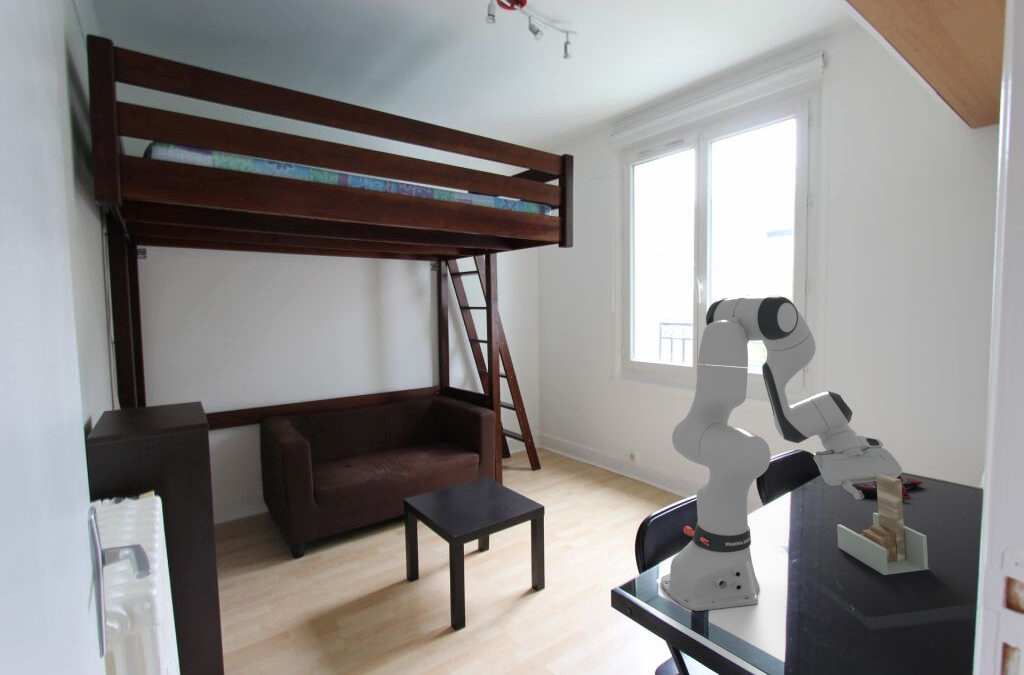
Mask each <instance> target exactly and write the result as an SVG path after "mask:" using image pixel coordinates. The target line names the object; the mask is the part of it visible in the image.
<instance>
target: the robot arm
mask: <svg viewBox="0 0 1024 675" xmlns="http://www.w3.org/2000/svg"><path fill="white" fill-rule="evenodd" d="M705 325H706V326H705V328H704V330H703V332H702V336H701V340H700V341H701V342H700V345H699V351H698V352H699V353H698V359H697V370H696V371H697V372H696V373H697V374H696V385H695V394H694V398H693V402H692V404H691V406H690V409H689V410H688V413H687V415H686V416H685V418H684V419H682V420H681V421H680V422H678V423H677V424H676V426H675V428H674V429H673V432H672V438H671V440H672V445H673V448H674V449H675V451H676V452H677V453H678V454H680V455H681V456H682V457H683V458H685V459H687V460H689V461H690V462H691V463H692V462H693V463H695V464H698V465H699V466H703V467H706V468H708V470H709V479H708V482H707V483H705V484H703V485H702V486H701V487H700V488H698V490H697V492H696V509H697V510H696V511H697V512H696V513H697V522H696V524H695V528H692V527H691V526H689V525H685V526H684V527H683V530H682V531H683V533H684V534H685V535H687V536H688V537H692V540H691V541H689V543H687V545H685V546H684V547H683V549H682V550H680V551H679V552H678V553H677V554H676V555H675V556H674V557H673V558H672V560H671V564H670V571H669V572H670V573H668V574H665V575H663V576H661V581H660V583H662V584H661V587H662V586H663V587H662V589H663V588H664V589H665V590H666V591H665V590H664V589H663V590H664V591H665V593H666V592H667V593H668V594H669V595H670V596H671V597H670V596H669V595H668V594H667V593H666V594H667V595H668V596H669V597H670V598H671V599H673V600H674V599H675V600H676V601H677V602H676V601H675V600H674V601H675V602H676V603H678V602H679V603H680V604H679V603H678V604H679V605H681V606H683V607H684V608H687V609H688V610H691V611H696V612H699V611H707V610H708V611H709V610H716V609H717V610H718V609H725V608H733V607H734V608H735V607H743V606H749V605H756V604H758V601H759V600H758V593H759V591H760V584H759V582H758V578H757V576H756V573H755V569H754V564H753V560H752V555H751V554H752V553H751V545H752V538H751V528H750V526H749V525H748V496H749V490H750V487H751V485H752V483H753V482H754V481H755V480H756V479H758V478H759V477H761V476H762V475H763V474H765V473H766V472H767V470H768V468H769V466H770V463H771V458H772V457H771V450H770V446H769V444H768V443H767V441H766V440H765V439H764V438H763V437H761V436H759V435H757V434H756V433H753V432H751V431H749V430H747V429H745V428H741V427H737V426H734V425H733V426H732V425H728V422H729V419H730V416H731V413H732V412H733V410H734V409H735V408H738V407H740V406H741V405H742V404H743V403H744V402H745V401H746V398H747V389H748V387H747V385H748V371H749V369H748V368H749V367H748V366H749V350H748V344H749V342H754V341H756V342H758V341H762V343H763V345H764V347H765V349H766V359H765V362H764V363H763V364H762V366H761V367H762V368H761V371H762V377H763V382H764V385H765V389H766V392H767V395H768V399H769V402H770V405H771V410H772V414H773V415H772V416H773V420H774V425H775V428H776V430H777V432H778V434H779V435H780V437H782V439H783V440H785V441H786V442H791V443H795V444H799V443H802V442H804V441H806V440H808V439H809V438H811V437H812V438H813V437H815V436H818V438H820V440H821V444H822V447H823V448H824V449H825V450H824V451H816V452H815V453H814V454H813V460H814V462H815V463H816V465H817V467H818V470H819V472H820V474H821V477H822V480H824V482H825V483H826V484H827V485H828V486H831V487H832V486H833V487H834V486H842V487H843V489H844V490H846V491H847V492H848V493H850V494H851V495H852V496H853V498H854V499H855V501H856V500H863V499H864V498H865V497H864V494H862V491H861V490H857V489H856V488H854V487H853V486H852V485H853V484H861V483H868V482H874V481H877V479H876V474H886V475H889V476H892V477H894V478H897V477H898V476H899V475H900V476H901V475H902V474H903V468H902V466H901V465H900V462H898V461H897V459H896V458H895V457H894V455H893V454H892V453H891V452H890V451H889V450H888V449H886V448H884V443H883V441H882V440H880V439H878V438H873V437H868V436H864V435H859V434H857V433H856V431H855V430H854V429H853V428H851V427H850V425H849V424H850V422H851V421H852V417H853V415H854V414H853V410H852V409H851V408H850V407H849V405H848V404H847V403H846V402H845V401H844V399H843V397H842V396H841V394H839V393H837V392H832V391H830V390H829V391H823V392H821V393H817V394H815V395H812V396H810V397H808V398H806V399H803V400H801V401H799V402H798V401H797V402H796V403H793V404H789V401H788V397H787V393H786V386H787V384H788V383H789V382H790V381H791V380H792V378H794V377H795V376H796V375H797V374H798V373H799V372H801V371H802V370H803V369H805V368H807V366H808V365H809V364H810V362H811V361H812V360H813V358H814V356H815V355H816V354H815V353H816V351H817V350H816V348H817V346H816V341H815V339H814V336H813V333H812V331H811V329H810V327H809V326H808V324H807V321H806V320H805V319H804V317H803V316H802V314H801V313H800V311H799V310H798V309H797V307H796V306H795V304H794V302H792V301H791V300H790V299H789V298H787V297H785V296H780V295H768V296H767V295H765V296H764V295H763V296H761V295H742V296H735V297H731V298H729V297H728V298H727V297H726V298H721V299H718V300H716V301H715V302H712V303H711V305H710V306H709V308H708V309H707V312H706V316H705Z"/></svg>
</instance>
